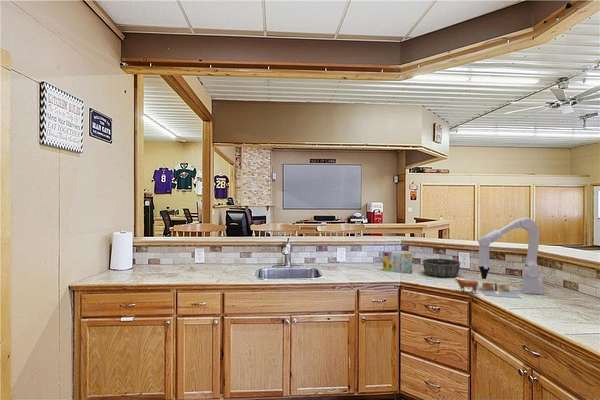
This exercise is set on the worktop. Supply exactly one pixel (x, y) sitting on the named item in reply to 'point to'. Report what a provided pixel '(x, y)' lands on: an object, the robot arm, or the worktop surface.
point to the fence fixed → (501, 287)
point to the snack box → (397, 262)
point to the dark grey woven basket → (441, 267)
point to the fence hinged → (487, 286)
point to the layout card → (500, 293)
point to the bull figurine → (466, 284)
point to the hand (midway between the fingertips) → (484, 278)
